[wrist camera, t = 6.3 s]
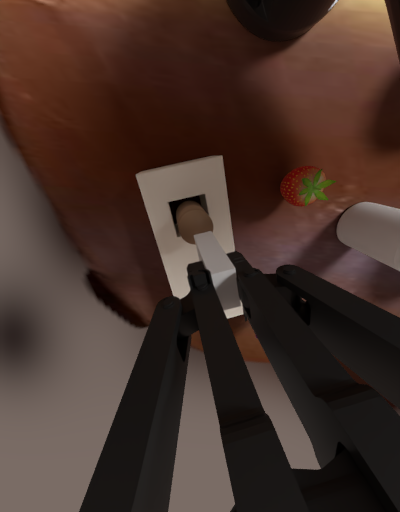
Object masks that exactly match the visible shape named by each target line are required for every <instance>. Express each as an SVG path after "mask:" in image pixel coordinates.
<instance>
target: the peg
mask: <svg viewBox="0 0 400 512" xmlns="http://www.w3.org/2000/svg"><path fill="white" fill-rule="evenodd" d="M176 219H177V223H178V228H179V232H180V235H181V237H182V238H183V240H184V241H186V242H187V243H190V244H194V245H196V244H195V240H194V235H196V234H200V233H204V232H208V231H211V232H212V233H213V222H212V220H211V218H210V217H209V215H208V214H207V213H206V212H205V210H204V209H203V208H202V206H201V205H200V204H199V203H197V202H195V201H191V200H189V201H185V202H183V203H181V204H180V205H179V206H178V208H177V210H176Z"/></svg>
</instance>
